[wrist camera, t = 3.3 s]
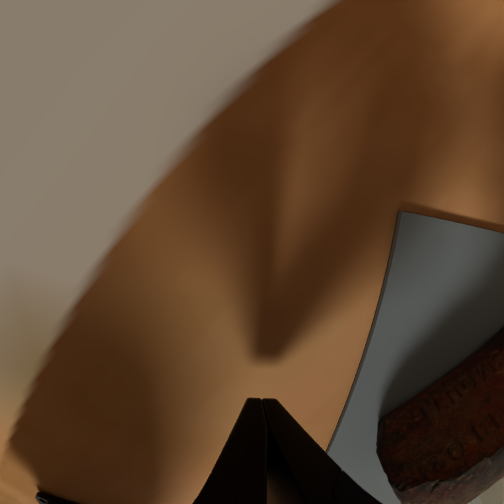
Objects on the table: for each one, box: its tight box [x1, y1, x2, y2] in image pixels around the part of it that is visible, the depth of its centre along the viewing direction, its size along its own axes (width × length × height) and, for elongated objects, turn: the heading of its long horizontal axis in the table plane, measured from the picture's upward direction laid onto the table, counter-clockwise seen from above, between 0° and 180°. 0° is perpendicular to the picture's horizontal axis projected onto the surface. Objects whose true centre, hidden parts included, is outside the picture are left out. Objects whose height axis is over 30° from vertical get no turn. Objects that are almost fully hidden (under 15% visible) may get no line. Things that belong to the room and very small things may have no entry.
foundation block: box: [468, 477, 504, 504], centre depth 12 cm, size 10×5×4 cm, turn 83°
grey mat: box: [326, 211, 504, 504], centre depth 12 cm, size 22×20×1 cm
